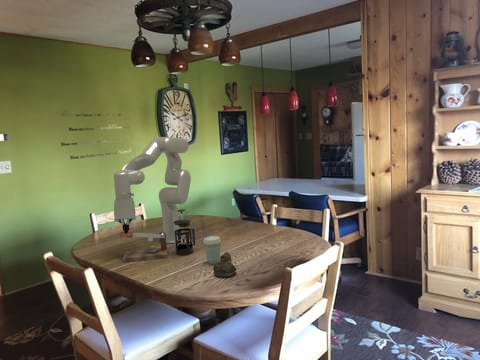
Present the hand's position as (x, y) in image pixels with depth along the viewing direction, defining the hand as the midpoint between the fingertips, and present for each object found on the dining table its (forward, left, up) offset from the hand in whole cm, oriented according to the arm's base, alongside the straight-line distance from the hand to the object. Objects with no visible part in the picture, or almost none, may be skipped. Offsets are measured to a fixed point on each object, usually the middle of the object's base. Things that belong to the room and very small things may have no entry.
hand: (126, 231), depth 191 cm
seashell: (-44, +38, -14) cm, 60 cm away
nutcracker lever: (-8, 0, -5) cm, 9 cm away
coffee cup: (-42, +20, -14) cm, 48 cm away
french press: (-29, 0, -14) cm, 32 cm away
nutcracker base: (-9, 0, -14) cm, 17 cm away
